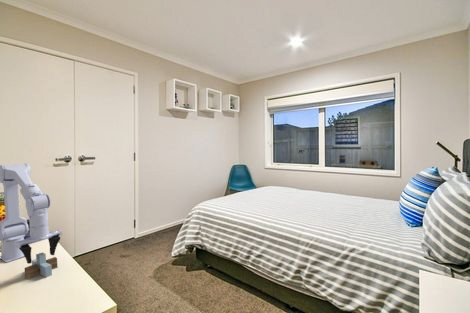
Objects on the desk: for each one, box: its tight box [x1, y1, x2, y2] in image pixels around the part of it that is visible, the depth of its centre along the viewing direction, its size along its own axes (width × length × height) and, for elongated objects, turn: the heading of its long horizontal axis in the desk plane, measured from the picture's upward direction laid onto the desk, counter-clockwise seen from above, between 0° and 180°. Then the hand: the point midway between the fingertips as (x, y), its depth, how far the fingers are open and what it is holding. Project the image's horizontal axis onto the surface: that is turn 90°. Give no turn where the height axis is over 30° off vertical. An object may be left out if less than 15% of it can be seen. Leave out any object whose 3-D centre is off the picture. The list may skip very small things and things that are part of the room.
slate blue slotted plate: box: [31, 252, 53, 278], centre depth 93 cm, size 12×2×8 cm, turn 61°
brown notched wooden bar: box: [24, 256, 58, 280], centre depth 94 cm, size 2×10×4 cm, turn 151°
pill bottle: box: [24, 219, 30, 239], centre depth 128 cm, size 6×6×11 cm
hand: (41, 258), depth 93 cm, fingers open, 7 cm apart
